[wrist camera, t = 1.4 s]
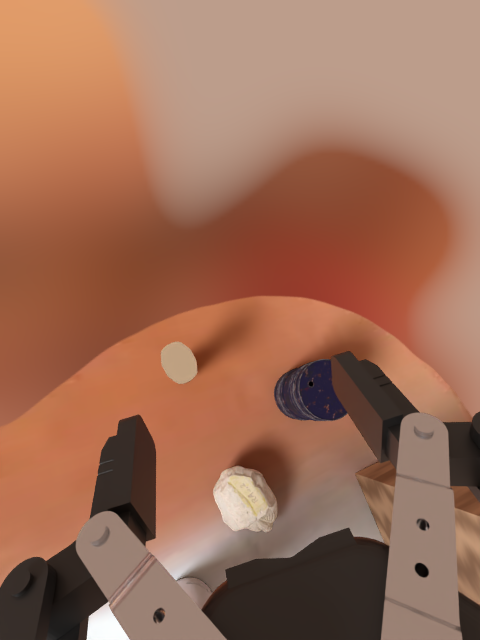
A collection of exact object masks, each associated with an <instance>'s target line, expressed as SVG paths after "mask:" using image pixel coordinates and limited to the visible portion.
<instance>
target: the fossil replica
mask: <svg viewBox="0 0 480 640" xmlns="http://www.w3.org/2000/svg"><path fill="white" fill-rule="evenodd" d="M213 495H214V498H215V502H216V503H217V505H218V508H219V510H220V511H221V514H222V518H223V522H225V524H227V525H228V526H229V527H230V528H231V529H232V530H233V531H239V530H241V529H244V528H247V529H250V530H251V531H254V532H255V531H257V532H259V531H261V530H263V531H264V532H269V531H271V530H272V526H273V522H274V521H275V519H276V517H277V513H278V511H277V509H278V507H277V501H276V497H275V496H274V494H273V492H272V490H271V489H270V487H269V486H268V484H267V483H266V480H265V479H264V477H263V475H262V474H261V473H260V472H258V471H257V470H255V469H248V468H243V467H241V466H233V467H231V468H228V469H226V470H224V471H223V472H222V473H221V475H220V478H219V480H218V481H217V483H216V485H215V487H214V489H213Z"/></svg>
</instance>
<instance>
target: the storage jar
mask: <svg viewBox="0 0 480 640" xmlns="http://www.w3.org/2000/svg"><path fill="white" fill-rule="evenodd" d="M274 397H275V401H276V404H277V406H278V408H279V409H280V411H281V412H282V413H283V414H285V415H286V416H288V417H290V418H292V419H298V420H314V421H333V420H337V419H340V418H342V417H344V416H345V415H346V414H348V413H347V411H346V410H345V408H344V407H343V405H342V404H341V402H340V401H339V399H338V397H337V396H336V394H335V391H334V388H333V384H332V370H331V360H329V359H321V360H317V361H314V362H310V363H308V364H305V365H303V366H301V367H300V368H296V369H293V370H291V371H289V372H287V373H285V374H284V375H282V376H281V377H280V378H279V380H278V381H277V383H276V386H275V391H274Z"/></svg>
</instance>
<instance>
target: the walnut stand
mask: <svg viewBox="0 0 480 640" xmlns="http://www.w3.org/2000/svg"><path fill="white" fill-rule="evenodd" d="M355 475H356V477H357V479H358V482H359V484H360V486H361V489H362V491H363V493H364V496H365V498H366V500H367V503H368V505H369V507H370V510H371V512H372V514H373V517H374V519H375V521H376V524H377V526H378V528H379V531H380V533H381V535H382V538H383V540H384V542H385V544H387V545H390V534H391V523H392V513H393V502H394V491H395V481H396V469H395V467H394V466H393V464H392V463H391V462H390V460H389V461H386V462H383V463H380V462H377V463H375V464H373V465H371V466H369V467H367V468H365V469H363V470H361V471H359V472H357V473H355ZM450 487H451V488H452V489H453V493H454V508H455V531H456V554H457V577H458V591H459V592H461V593H462V594H464V595H465V596H467V597H468V598H470V599H471V600H473V601H474V602H476V603H477V604H479V605H480V502H479V501H478V500H477V498H476V497H475V496H474V495H473V493H472V492H471V491H470V489H469V488H468V487H467V486H450Z"/></svg>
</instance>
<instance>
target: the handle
mask: <svg viewBox="0 0 480 640" xmlns="http://www.w3.org/2000/svg"><path fill="white" fill-rule="evenodd" d="M161 362H162V366H163V368H164V370H165V372H166V374H167V376H168V377H169V378H171V379H172V380H173V381H175V382H176V383H178V384H184V383H187V382H189V381H191V380H192V379H193V378H194V377H195V376H196V374H197V362H196V359H195V357H194V355H193V353H192V351H191V350H190V349H189V348H188V347H187V346H185V345H184V344H182V343H181V342H173V343H170V344H168V345H167V346H165V347H164V348H163V350H162V351H161Z"/></svg>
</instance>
